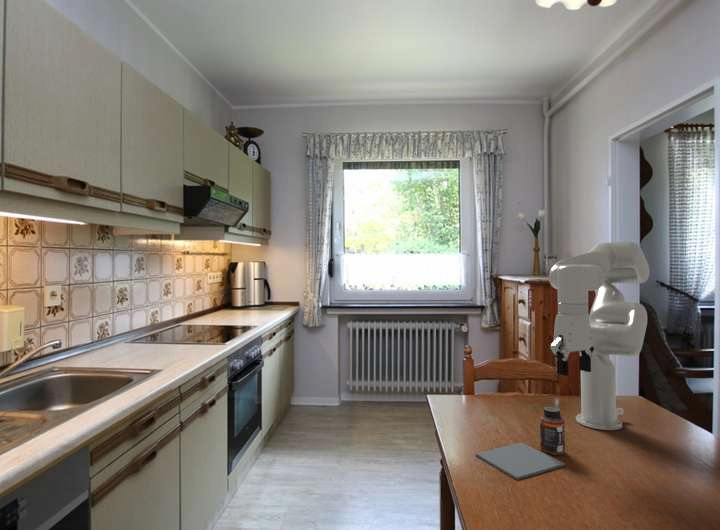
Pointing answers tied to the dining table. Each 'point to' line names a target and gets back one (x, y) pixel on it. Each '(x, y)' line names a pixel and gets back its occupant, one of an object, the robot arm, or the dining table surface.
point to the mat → (519, 460)
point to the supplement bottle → (552, 432)
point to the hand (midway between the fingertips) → (574, 372)
